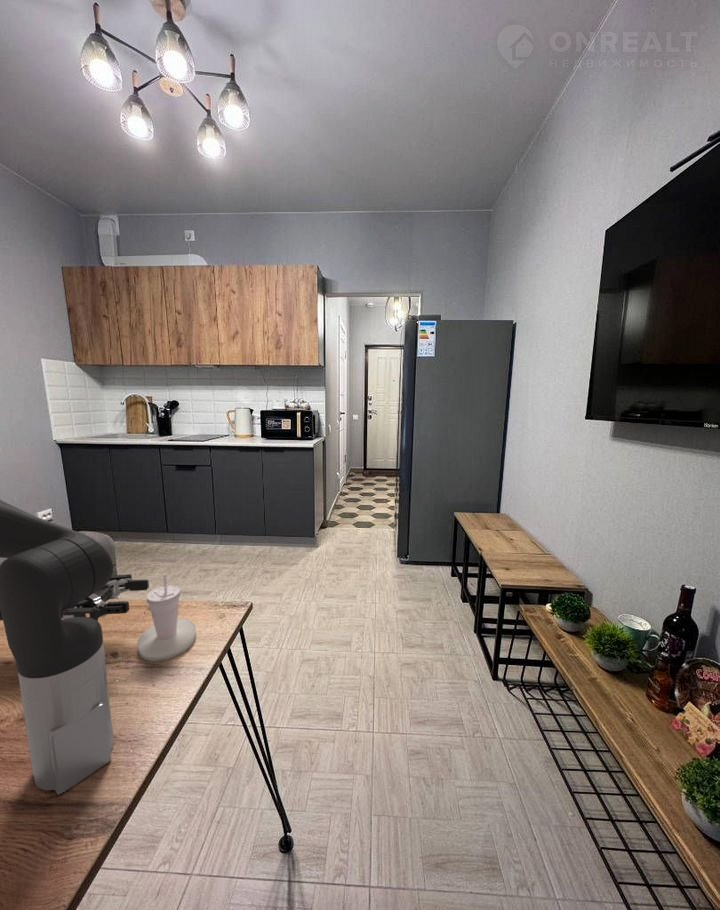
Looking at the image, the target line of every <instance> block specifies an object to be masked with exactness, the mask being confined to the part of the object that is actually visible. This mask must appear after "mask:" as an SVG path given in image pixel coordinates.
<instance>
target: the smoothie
mask: <svg viewBox="0 0 720 910" xmlns="http://www.w3.org/2000/svg"><path fill="white" fill-rule="evenodd" d="M162 575H163V576H162V577H163V586H159V587H157V588H154V589H153V590H151V591H150V592H148V594H146V603H147V604H148V606H149V610H150V614H151V618H152V621H153V626H155V630H156V634H157V638H158V639H160V640H166V639H169V638H171V637H173V636H174V635H175V634H176V632H177V619H179V618H178V617H179V603H180V596H181V593H182V592H181V588H180V587H179V586H177V585H171V584H169V585H168V583H167V582H168V581H167V579H168V578H167V573H166V572H165V573H163V574H162Z"/></svg>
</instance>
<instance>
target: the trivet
mask: <svg viewBox="0 0 720 910" xmlns="http://www.w3.org/2000/svg"><path fill="white" fill-rule="evenodd" d="M196 630H197V628H196V625H195V623H194V622H193V621H192V620H190V619H186V618H177V632H176V634H175V635H174V636H173V637H171V638H169V639H166V640H160V639H158V638H157V634H156V630H155V626H154V625H152V626H150V627H148V628H147V629H145V631H144V632H142V633H141V635H140V636H139V638H138V639H137V649H138V655H139V657H140V658H141V659H143V660H145V661H149V662H160V661H166V660H169V659H173V658H175V657H178V656H179V655H181V654H183V653H184V652H186V651H188V650H189V649H190V648H191V647H192V646H193V644H194V643H195V642H196V640H197V639H196V638H197V631H196Z"/></svg>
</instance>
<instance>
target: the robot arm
mask: <svg viewBox="0 0 720 910" xmlns="http://www.w3.org/2000/svg"><path fill="white" fill-rule="evenodd" d="M0 558H1V559H5V560H4V561H2V562H1V564H0V622H2V621H3V622H2V623H3V628H4V629H5V630H4V631H5V636H6V640H7V645H8V648H9V649H10V652H11V654H12V657H13V659H14V660H15V663H16V670H17V676H18V681H19V689H20V695H21V701H22V702H21V703H22V710H23V717H24V723H25V728H26V729H25V730H26V736H27V737H26V738H27V742H28V743H27V744H28V749H29V750H28V751H29V756H30V761H31V769H32V775H33V781H34V784H35V786H36V787H37V788H39V789H40V790H43V791H50V790H55V791H54V792H56V795H57V794H61V793H62V794H64V793H65V792H67V791H68V790H70V789H71V788H73V787H74V786H75V785H77V784H79V783H80V782H81V781H83V780H84V779H86V778H87V777H89V776H91V775H92V774H93V773H95V772H96V771H97V770H99V769H101V768H102V767H103V766H105V765H107V764H108V763H109V762H111V760H112V756H111V754H112V753H111V752H112V749H113V747H114V742H115V738H114V732H113V731H114V730H113V722H112V721H113V719H112V714H111V713H112V711H111V704H110V703H111V701H110V693H109V683H108V673H107V666H106V665H107V664H106V654H105V646H104V636H103V629H102V625H101V623H100V622H99V618H104V617H106V616H107V615H119V614H127V613H128V612H129V611H130V603H129V601H127V600H123V601H122V600H120V601H109V600H111V599H113V598H116V597H119V596H120V594H122V593H125V592H132V591H133V592H135V591H138V592H139V591H147V590H148V589H149V587H150V584H149V583H150V582H149V579H146V578H145V579H133V577H132V574H128V573H127V574H115V575H114V564H113V560H112V557H111V555H110V554H109V553H108V551H107V550H106V548H105V547H104V546H103V545H102V544H101V543H100V542H98V541H96V540H95V539H94V538H93V537H91V536H89V535H86V534H84V533H82V532H79V531H77V530H73V529H71V528H68V527H64V526H62V525H59V524H56V523H54V522H51V521H48V520H45V519H42V518H40V517H38V516H36V515H33V514H31V513H29V512H27V511H25V510H22V509H20V508H18V507H16V506H14V505H11V504H10V503H7V502H5V501H4V500H1V499H0ZM112 589H113V590H112ZM107 601H108V602H107ZM87 614H89V616H86V615H87ZM66 790H67V791H66ZM63 792H64V793H63ZM62 794H61V795H62Z"/></svg>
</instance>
